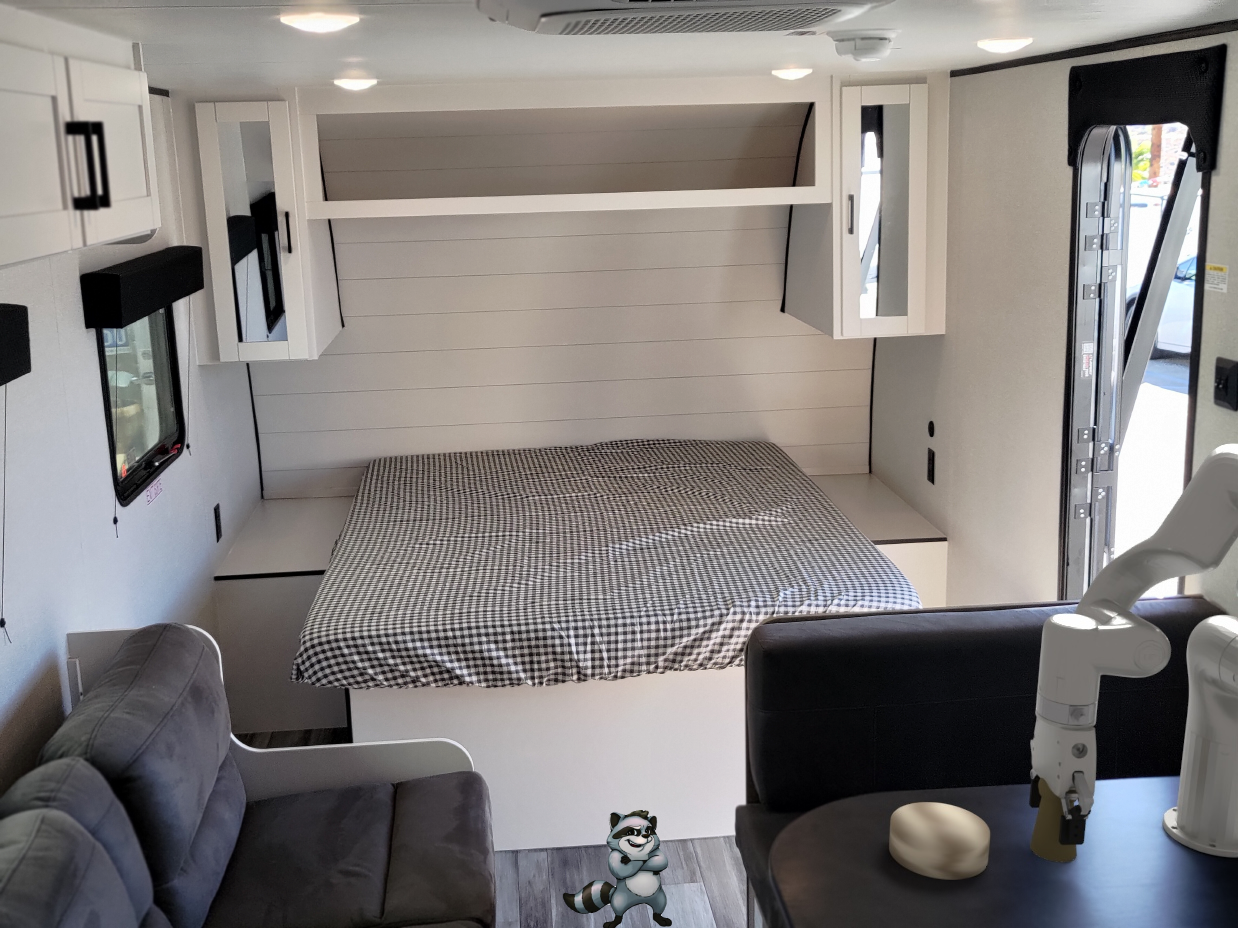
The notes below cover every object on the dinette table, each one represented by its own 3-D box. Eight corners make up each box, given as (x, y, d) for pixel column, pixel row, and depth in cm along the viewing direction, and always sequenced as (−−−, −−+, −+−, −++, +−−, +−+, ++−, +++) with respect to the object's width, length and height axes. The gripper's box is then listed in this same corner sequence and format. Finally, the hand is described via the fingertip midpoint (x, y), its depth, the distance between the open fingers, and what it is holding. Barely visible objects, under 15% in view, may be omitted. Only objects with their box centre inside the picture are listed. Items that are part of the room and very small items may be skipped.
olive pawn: (1069, 839, 160) (1076, 766, 158) (1082, 863, 154) (1089, 787, 152) (1025, 837, 161) (1031, 764, 158) (1036, 860, 155) (1042, 785, 153)
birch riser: (968, 826, 163) (970, 800, 163) (1002, 878, 151) (1005, 850, 150) (877, 828, 163) (879, 802, 162) (904, 880, 150) (906, 852, 149)
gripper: (1125, 735, 145) (1112, 858, 149) (1065, 681, 162) (1055, 793, 165) (1066, 736, 145) (1055, 859, 148) (1013, 681, 161) (1004, 794, 165)
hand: (1055, 824), depth 157 cm, fingers open, 9 cm apart
